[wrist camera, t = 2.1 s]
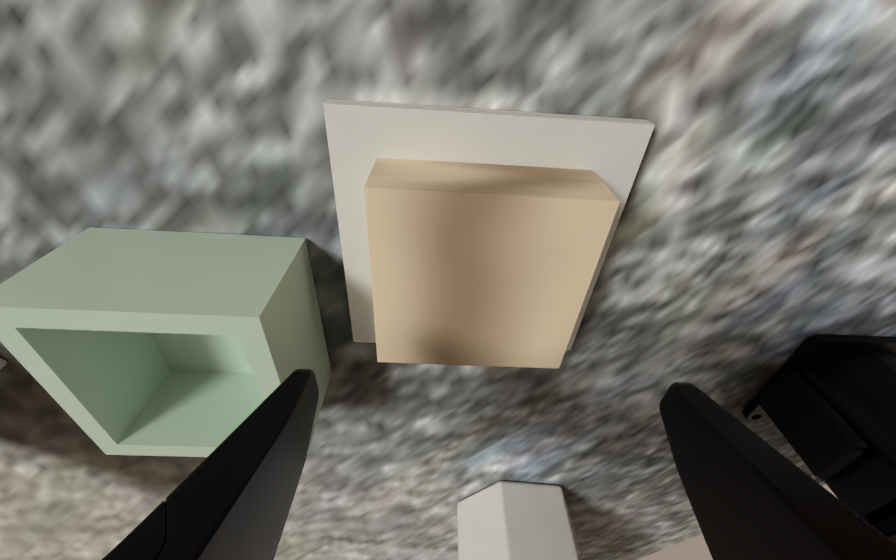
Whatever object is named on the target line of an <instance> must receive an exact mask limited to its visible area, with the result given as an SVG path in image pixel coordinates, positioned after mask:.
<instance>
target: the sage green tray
mask: <svg viewBox="0 0 896 560" xmlns="http://www.w3.org/2000/svg"><path fill="white" fill-rule="evenodd" d="M0 342H1V343H2V344H3V345H4V346H5V347H6V348H7V349H8V351H9V352H10V353H11V354H12V355H13V356H14V357H15V358H16V359H17V360H18V361H19V362H20V363H21V364H22V365H23V367H24V368H25V369H26V370H27V371H28V372H29V373H30V374H31V375H32V376H33V377H34V378H35V379H36V380H37V381H38V383H39V384H40V385H41V386H42V387H43V388H44V389H45V390H46V391H47V392H48V393H49V394H50V395H51V396H52V398H53V399H54V400H55V401H56V402H57V403H58V404H59V405H60V406H61V407H62V408H63V409H64V410H65V411H66V412H67V414H68V415H69V416H70V417H71V418H72V419H73V420H74V421H75V422H76V423H77V424H78V425H79V426H80V427H81V429H82V430H83V431H84V432H85V433H86V434H87V435H88V436H89V437H90V438H91V439H92V440H93V441H94V442H95V443H96V445H97V446H98V447H99V448H100V449H101V450H102V451H103V452H104V453H105V454H106V455H139V456H180V457H208V456H209V455H210V454H211V453H212V452H213V451H214V450H215V449H216V448H217V447H218V446H219V445H220V444H221V443H222V442H223V441H224V440H225V439H226V438H227V437H228V436H229V435H230V434H231V433H232V432H233V431H234V430H235V429H236V428H237V427H238V426H239V425H240V424H241V423H242V422H243V421H244V420H245V419H246V418H247V417H248V416H249V415H250V414H251V413H252V412H253V411H254V410H255V409H256V408H257V407H258V406H259V405H260V404H261V403H262V402H263V401H264V400H265V399H266V398H267V397H268V396H269V395H270V394H271V393H272V392H273V391H274V390H275V389H276V388H277V387H278V386H279V385H280V384H281V383H282V382H283V381H284V380H285V379H286V378H287V377H288V376H289V375H290V374H291V373H292V372H293V371H295V370H296V369H312V370H313V371H314V372H315V376H316V380H317V385H318V389H319V398H318V403H317V408H316V413H315V418H314V423H313V427H312V432H311V437H310V442H309V446H310V443H311V439H312V436H313V433H314V429H315V426H316V423H317V420H318V416H319V413H320V410H321V406H322V403H323V400H324V397H325V393H326V390H327V387H328V383H329V380H330V377H331V374H332V373H331V367H330V362H329V357H328V352H327V346H326V341H325V336H324V331H323V326H322V320H321V315H320V310H319V305H318V300H317V294H316V289H315V284H314V279H313V273H312V268H311V263H310V258H309V253H308V247H307V242H306V238H296V237H275V236H255V235H235V234H215V233H194V232H174V231H154V230H134V229H113V228H93V227H89V228H88V229H86V230H85V231H83V232H82V233H80V234H78V235H77V236H75V237H74V238H72V239H71V240H69V241H67V242H66V243H64V244H63V245H61V246H60V247H58V248H56V249H55V250H53V251H52V252H50V253H49V254H47V255H45V256H44V257H42V258H41V259H39V260H38V261H36V262H34V263H33V264H31V265H30V266H28V267H26V268H25V269H23V270H22V271H20V272H19V273H17V274H15V275H14V276H12V277H11V278H9V279H8V280H6V281H4V282H3V283H1V284H0ZM308 449H309V447H308ZM307 452H308V451H307Z"/></svg>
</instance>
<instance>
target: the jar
mask: <svg viewBox="0 0 896 560" xmlns="http://www.w3.org/2000/svg"><path fill="white" fill-rule="evenodd" d="M457 525H458V560H582V558H581V554H580V550H579V546H578V542H577V538H576V534H575V530H574V526H573V522H572V518H571V514H570V511H569V508H568V505H567V502H566V499H565V496H564V493H563V490H562V488H561V487H560V486H558V485H546V484H535V483H523V482H512V481H498V482H496V483H494V484H492V485H491V486H489V487H487V488H485V489H483V490H481V491H479V492H477V493H475V494H473V495H471V496H469V497H467V498H465V499H463V500H461V501H459V502H458V504H457Z"/></svg>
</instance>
